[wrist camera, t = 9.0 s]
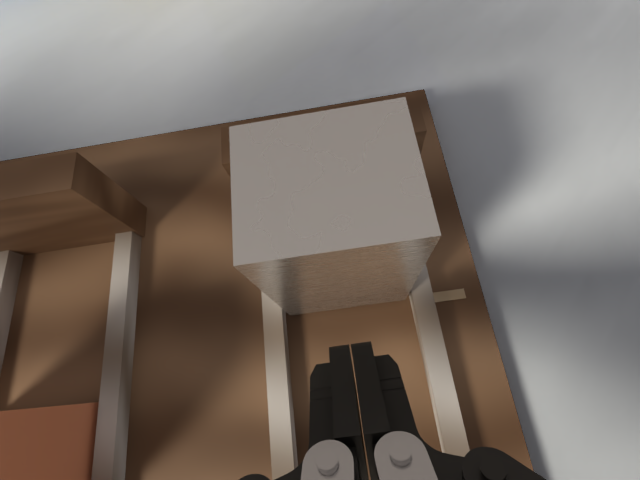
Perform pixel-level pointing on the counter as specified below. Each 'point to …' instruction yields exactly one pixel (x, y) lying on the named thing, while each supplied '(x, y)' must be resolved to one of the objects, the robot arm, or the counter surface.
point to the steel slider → (331, 207)
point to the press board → (216, 315)
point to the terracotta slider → (48, 442)
